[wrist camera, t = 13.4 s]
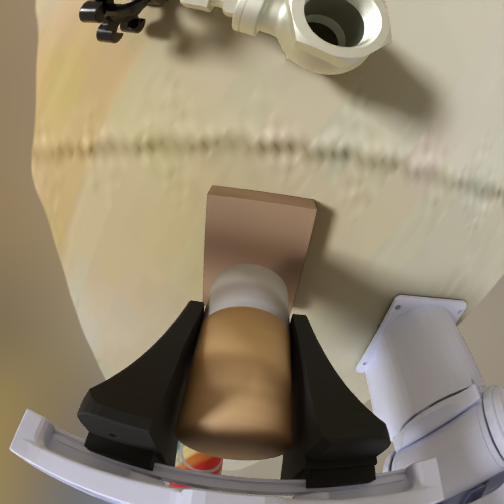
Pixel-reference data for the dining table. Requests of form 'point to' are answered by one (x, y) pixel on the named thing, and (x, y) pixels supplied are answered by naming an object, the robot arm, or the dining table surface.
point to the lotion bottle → (196, 462)
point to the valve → (274, 26)
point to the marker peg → (241, 370)
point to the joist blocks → (256, 234)
